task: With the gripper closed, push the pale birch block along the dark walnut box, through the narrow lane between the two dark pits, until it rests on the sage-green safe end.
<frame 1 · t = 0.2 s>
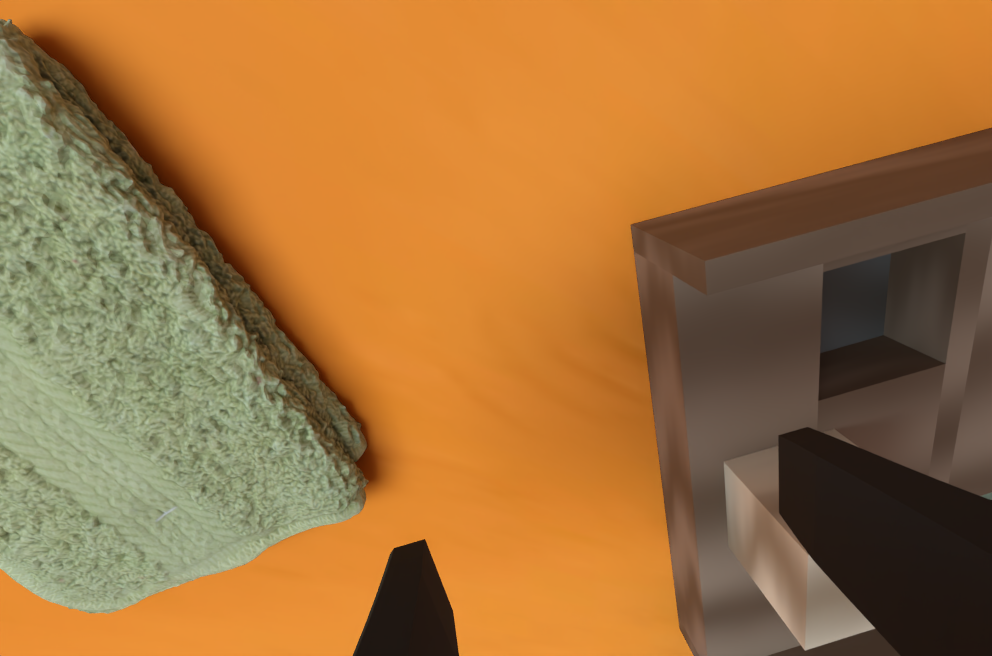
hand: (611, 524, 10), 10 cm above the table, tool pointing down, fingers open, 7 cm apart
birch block: (779, 490, 20), point 3 cm above the table, touching trap box
washcloth: (104, 359, 18), on the table
trap box: (891, 399, 23), on the table
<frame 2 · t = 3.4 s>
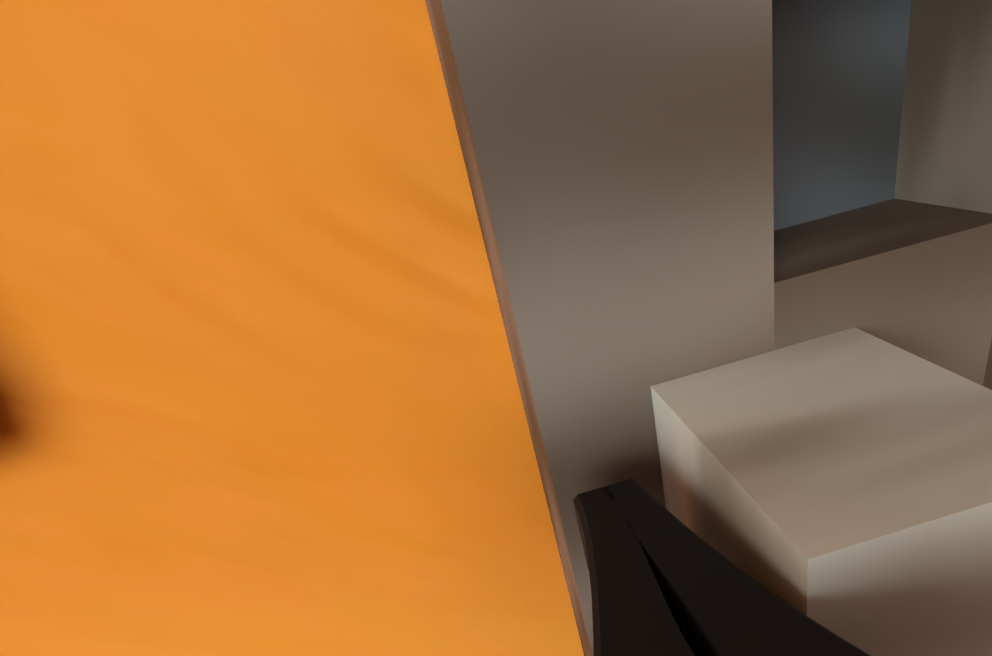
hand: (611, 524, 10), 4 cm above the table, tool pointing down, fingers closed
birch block: (756, 443, 11), point 3 cm above the table, touching gripper, trap box
trap box: (906, 319, 14), on the table
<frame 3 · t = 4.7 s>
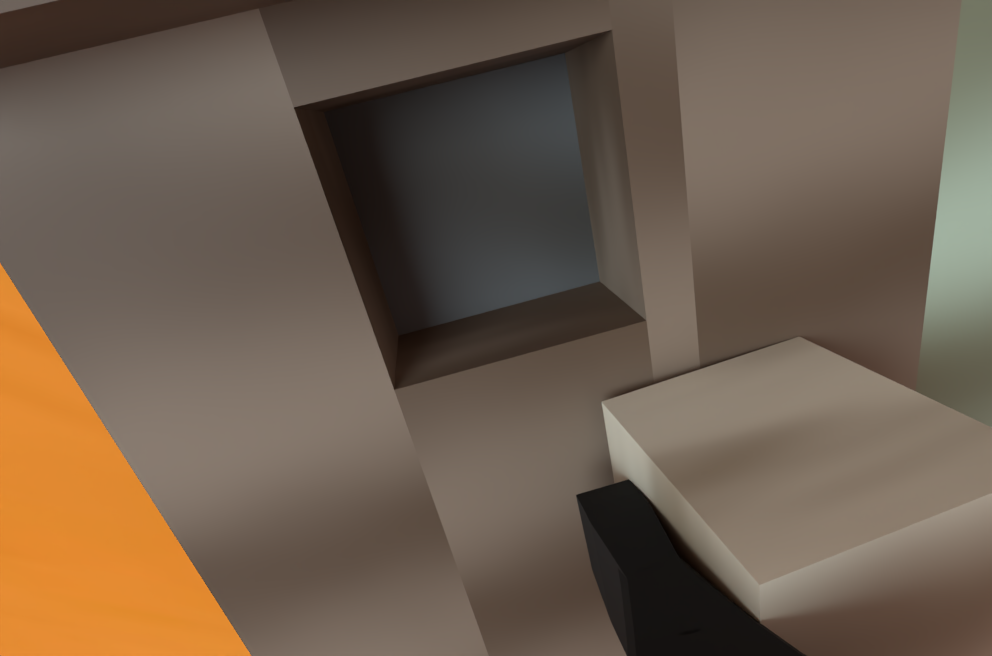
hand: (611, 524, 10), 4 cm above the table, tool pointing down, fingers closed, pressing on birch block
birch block: (708, 455, 11), point 3 cm above the table, touching gripper, trap box
trap box: (649, 393, 14), on the table
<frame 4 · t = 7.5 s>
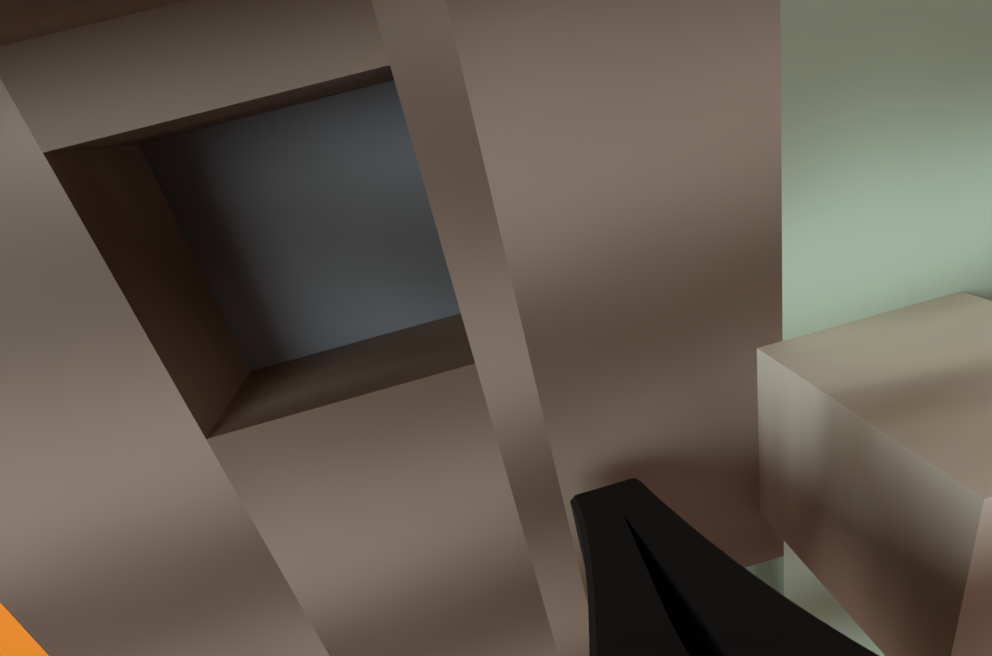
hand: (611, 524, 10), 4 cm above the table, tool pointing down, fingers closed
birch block: (853, 410, 11), point 3 cm above the table, touching trap box
trap box: (533, 423, 14), on the table
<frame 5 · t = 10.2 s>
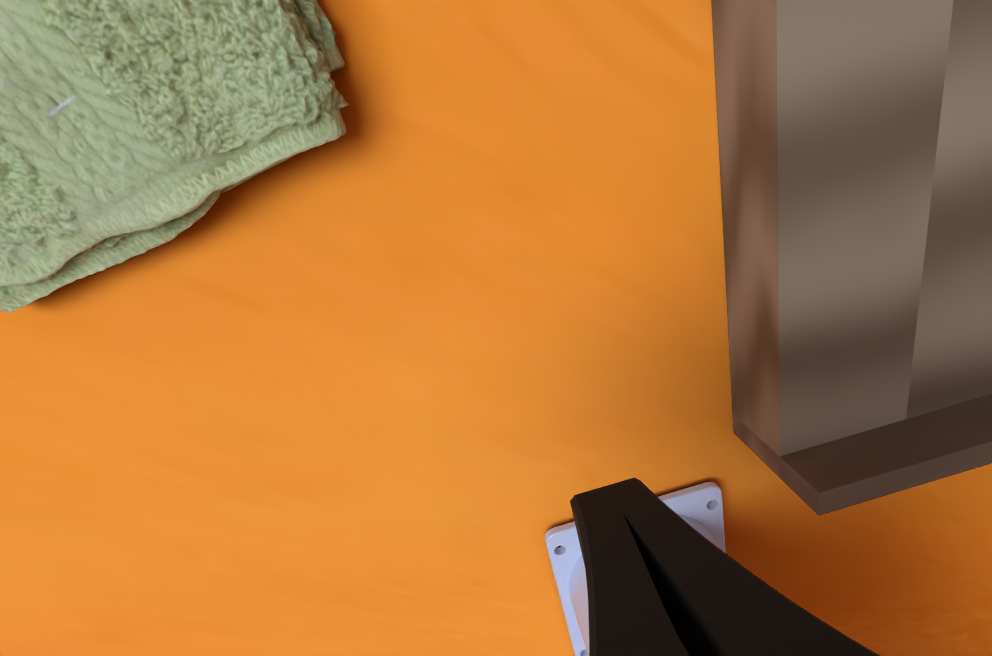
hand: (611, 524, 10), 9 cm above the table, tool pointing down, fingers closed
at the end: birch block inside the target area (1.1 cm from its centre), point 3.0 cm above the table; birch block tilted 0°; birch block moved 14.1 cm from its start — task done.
